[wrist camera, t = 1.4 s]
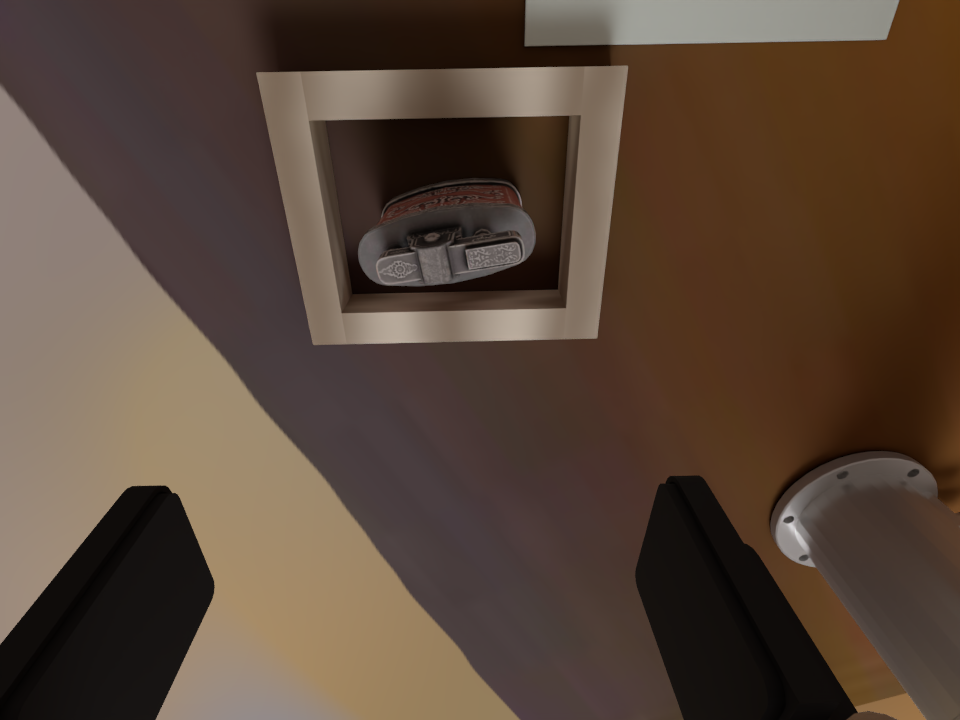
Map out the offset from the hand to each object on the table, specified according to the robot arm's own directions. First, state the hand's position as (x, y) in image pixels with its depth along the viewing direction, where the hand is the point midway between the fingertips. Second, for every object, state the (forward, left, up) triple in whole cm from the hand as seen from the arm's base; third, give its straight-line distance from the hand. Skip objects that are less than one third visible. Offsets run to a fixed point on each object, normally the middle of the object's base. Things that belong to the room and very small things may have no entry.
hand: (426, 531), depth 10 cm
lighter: (0, -1, -22) cm, 22 cm away
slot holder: (0, -1, -22) cm, 22 cm away
